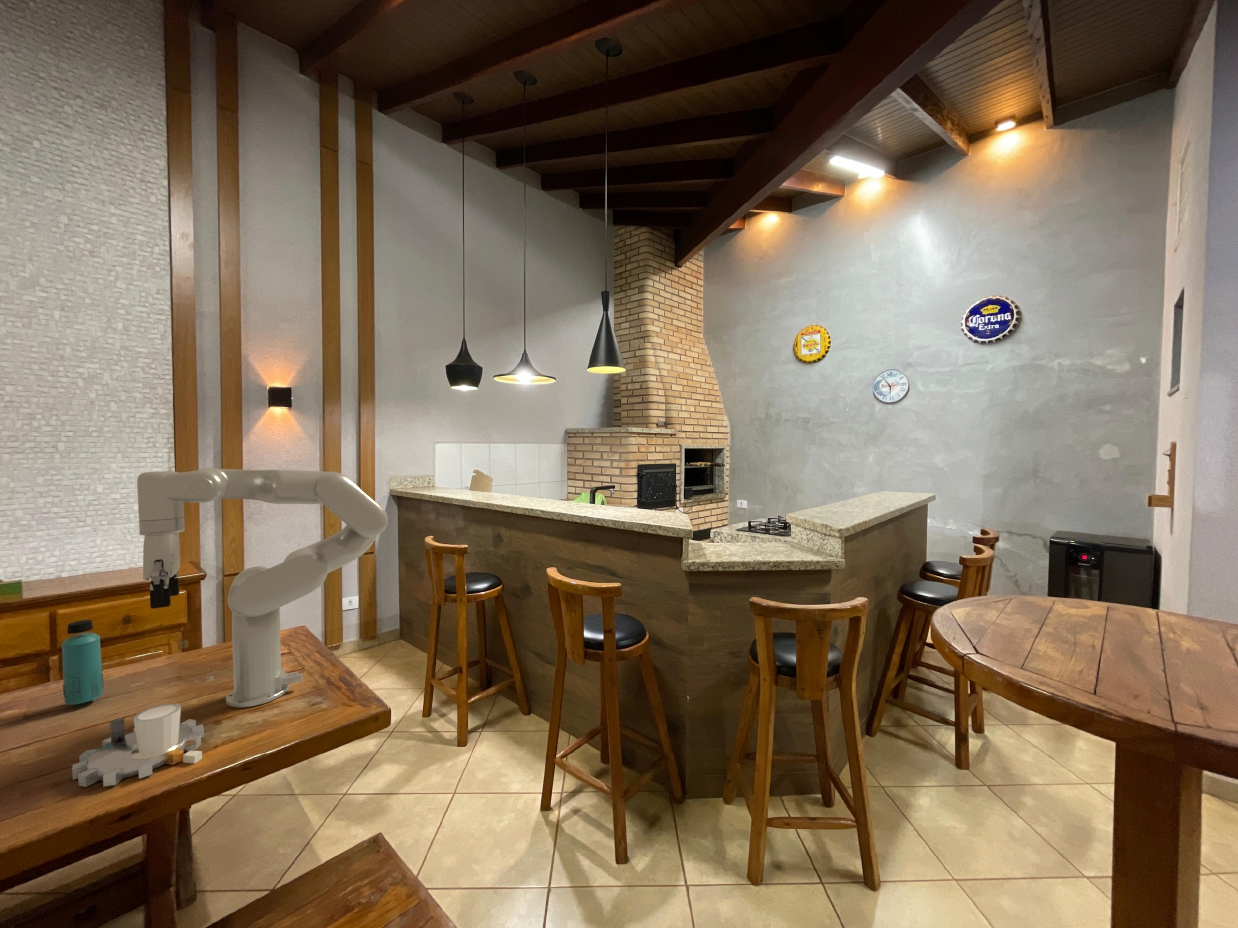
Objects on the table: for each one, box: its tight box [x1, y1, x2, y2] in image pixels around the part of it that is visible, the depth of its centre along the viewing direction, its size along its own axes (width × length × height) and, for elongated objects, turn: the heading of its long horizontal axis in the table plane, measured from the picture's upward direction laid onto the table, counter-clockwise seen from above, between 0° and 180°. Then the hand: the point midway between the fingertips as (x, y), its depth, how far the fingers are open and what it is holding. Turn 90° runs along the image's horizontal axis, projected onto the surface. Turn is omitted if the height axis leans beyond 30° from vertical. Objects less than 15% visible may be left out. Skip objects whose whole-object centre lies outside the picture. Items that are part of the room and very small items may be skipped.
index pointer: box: [182, 750, 203, 764], centre depth 97 cm, size 2×2×2 cm, turn 84°
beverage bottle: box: [61, 619, 105, 706], centre depth 118 cm, size 6×7×20 cm
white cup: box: [132, 703, 182, 756], centre depth 97 cm, size 7×7×7 cm
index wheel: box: [71, 717, 205, 788], centre depth 98 cm, size 19×19×6 cm
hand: (165, 601), depth 112 cm, fingers open, 9 cm apart
